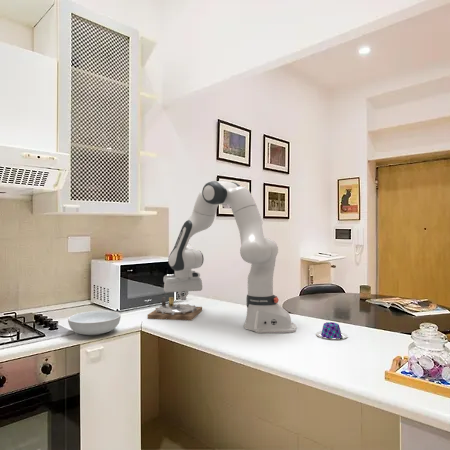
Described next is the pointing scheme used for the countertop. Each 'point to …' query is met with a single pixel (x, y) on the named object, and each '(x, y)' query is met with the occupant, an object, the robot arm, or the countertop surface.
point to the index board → (176, 316)
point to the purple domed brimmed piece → (331, 331)
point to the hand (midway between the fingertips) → (183, 300)
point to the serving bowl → (94, 322)
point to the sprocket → (175, 308)
